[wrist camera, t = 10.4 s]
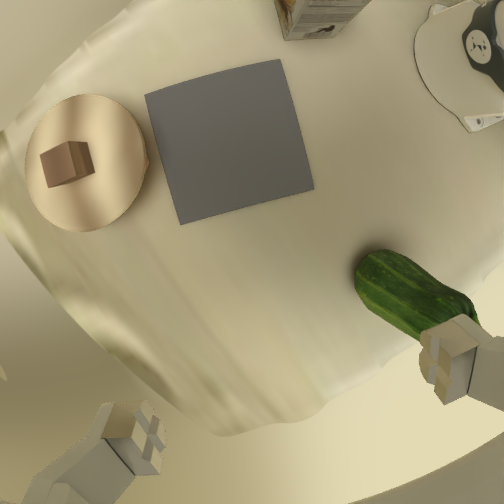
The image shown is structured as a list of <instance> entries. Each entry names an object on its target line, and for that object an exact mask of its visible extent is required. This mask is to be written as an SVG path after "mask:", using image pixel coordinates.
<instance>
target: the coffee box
mask: <svg viewBox="0 0 504 504" xmlns="http://www.w3.org/2000/svg"><path fill="white" fill-rule="evenodd" d="M370 1H371V0H274V2H275V6H276V9H277V13H278V17H279V21H280V25H281V29H282V33H283V36H284V40H298V39H313V38H333V37H335V36H336V34H337V33H338V32H339V31H340V30H341V29H342V28H343V27H344V26H345V25H346V24H347V23H348V22H349V21H350V20H351V19H352V18H353V17H354V16H356V15H357V14H358V13H359V12H360V11H361V10H362V9H363V8H364V7H365V6H366V5H367V4H368V3H369V2H370Z"/></svg>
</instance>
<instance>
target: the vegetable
mask: <svg viewBox="0 0 504 504" xmlns="http://www.w3.org/2000/svg"><path fill="white" fill-rule="evenodd" d="M355 289H356V291H357V293H358V294H359V296H360V298H361V300H362V301H363V303H364V304H365V306H366V307H367V308H368V309H369V310H370V311H372V312H373V313H375V314H376V315H378V316H379V317H381V318H383V319H384V320H385V321H387V322H389V323H390V324H392V325H393V326H395V327H396V328H398V329H399V330H401V331H403V332H404V333H406V334H408V335H409V336H411V337H413V338H414V339H416V340H418V341H419V342H420V335H421V332H422V331H424V330H426V329H429V328H431V327H434V326H436V325H438V324H441V323H443V322H446V321H448V320H449V319H451V318H454V317H456V316H458V315H460V314H465V315H467V316H468V317H469V318H471V319H472V320H473V321H474V322H475V323H477V324H478V325H479V326H480V327H481V325H480V323H479V321H478V318H477V313H476V311H475V309H474V305H473V303H472V302H471V300H470V299H469V298H468V297H467V296H466V295H465V294H463V293H461V292H458V291H456V290H454V289H452V288H450V287H448V286H446V285H444V284H442V283H441V282H439V281H438V280H436V279H435V278H434V277H433V276H431V275H430V274H429V273H428V272H427V271H425V270H424V269H423V268H421V267H420V266H419V265H418V264H416V263H415V262H413V261H412V260H411V259H409V258H407V257H406V256H403V255H401V254H398V253H396V252H393V251H390V250H385V249H384V250H380V251H376V252H373V253H370V254H368V255H367V256H366V257H365V258H364V259H363V260H362V261H361V263H360V264H359V265H358V267H357V268H356V273H355ZM481 328H482V327H481Z"/></svg>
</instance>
